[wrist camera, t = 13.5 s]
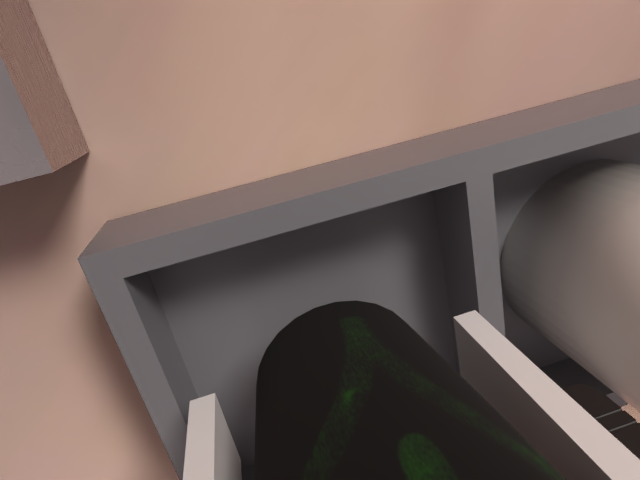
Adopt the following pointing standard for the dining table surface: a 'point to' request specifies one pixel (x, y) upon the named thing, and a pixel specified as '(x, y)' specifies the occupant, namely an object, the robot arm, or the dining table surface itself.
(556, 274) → the billet
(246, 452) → the grey divided tray
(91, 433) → the dining table surface
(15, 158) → the grey square socket block
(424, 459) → the cup
